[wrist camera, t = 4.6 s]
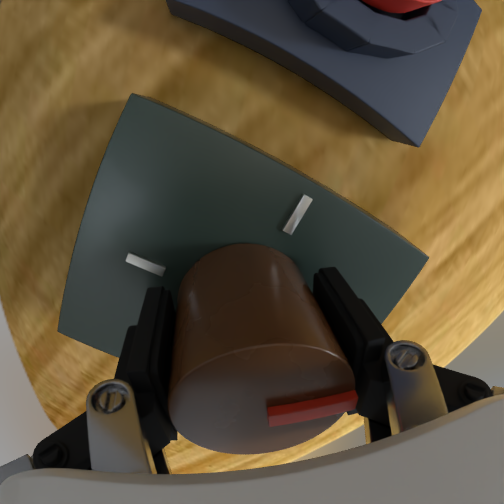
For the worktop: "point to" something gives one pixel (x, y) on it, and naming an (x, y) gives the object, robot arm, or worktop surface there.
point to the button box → (354, 51)
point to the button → (399, 5)
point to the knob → (253, 355)
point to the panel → (210, 222)
